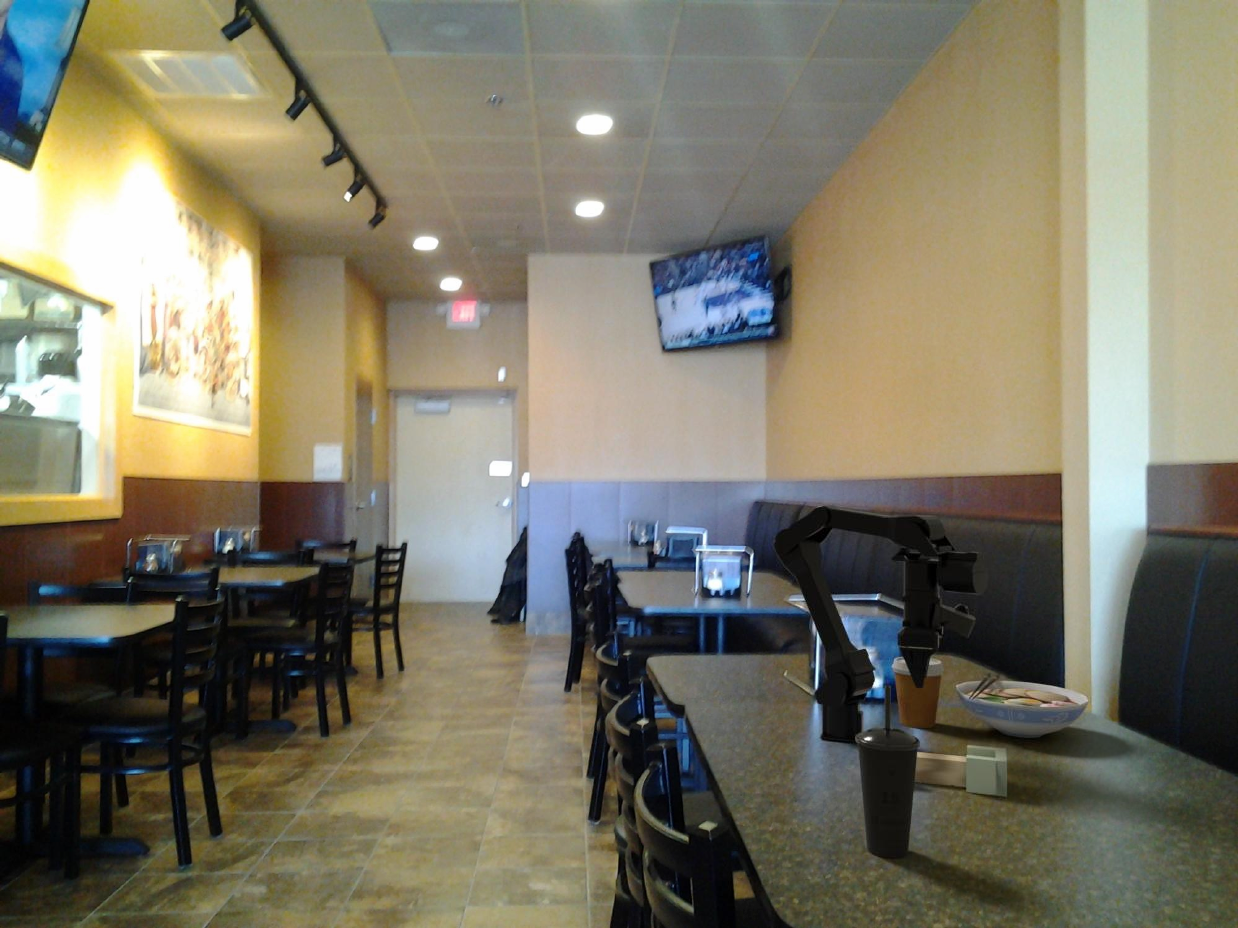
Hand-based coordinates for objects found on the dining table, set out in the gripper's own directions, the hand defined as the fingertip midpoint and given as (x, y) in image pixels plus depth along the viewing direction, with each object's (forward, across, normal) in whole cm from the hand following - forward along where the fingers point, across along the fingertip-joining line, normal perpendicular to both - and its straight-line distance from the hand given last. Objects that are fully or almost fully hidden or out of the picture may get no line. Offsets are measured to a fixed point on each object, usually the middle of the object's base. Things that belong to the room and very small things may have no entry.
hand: (921, 682), depth 157 cm
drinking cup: (+12, -46, +1) cm, 48 cm away
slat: (+12, -14, -3) cm, 19 cm away
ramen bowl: (+12, +23, -16) cm, 31 cm away
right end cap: (+12, -14, -10) cm, 21 cm away
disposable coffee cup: (+12, +22, +2) cm, 25 cm away
